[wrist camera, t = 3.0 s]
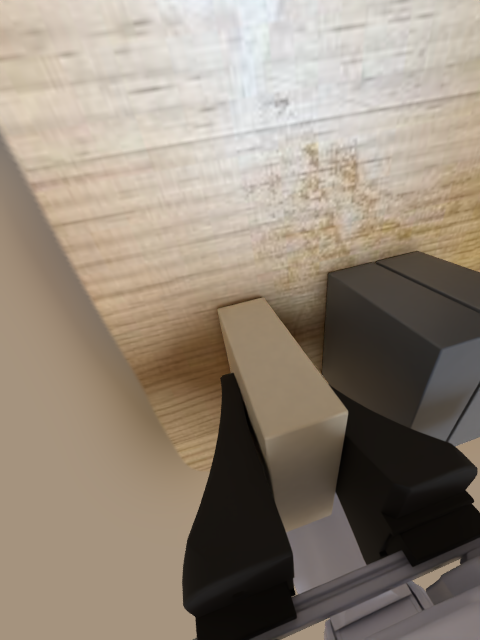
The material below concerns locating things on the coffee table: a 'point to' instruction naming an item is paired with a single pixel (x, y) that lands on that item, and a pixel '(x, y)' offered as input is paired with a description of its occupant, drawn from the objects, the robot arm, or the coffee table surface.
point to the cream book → (285, 411)
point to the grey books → (408, 342)
